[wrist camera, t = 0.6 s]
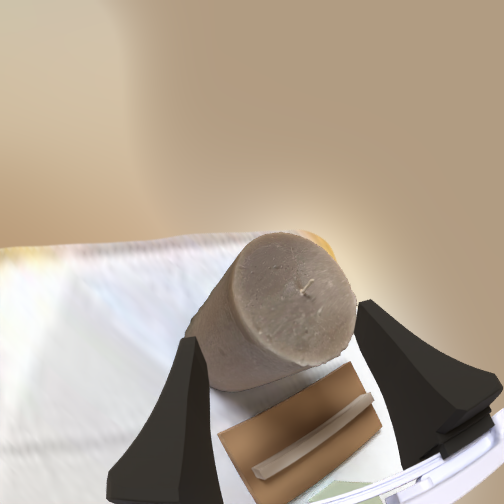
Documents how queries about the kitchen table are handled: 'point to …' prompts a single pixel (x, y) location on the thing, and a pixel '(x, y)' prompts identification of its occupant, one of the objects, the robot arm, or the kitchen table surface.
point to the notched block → (343, 491)
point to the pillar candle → (274, 314)
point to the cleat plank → (302, 437)
